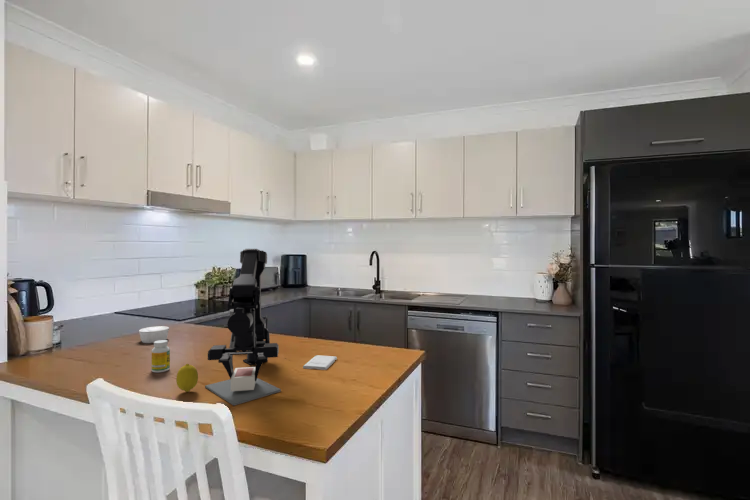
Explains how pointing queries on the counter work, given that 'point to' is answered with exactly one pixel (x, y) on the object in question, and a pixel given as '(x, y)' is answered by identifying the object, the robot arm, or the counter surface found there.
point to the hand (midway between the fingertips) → (244, 381)
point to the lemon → (187, 377)
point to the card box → (243, 379)
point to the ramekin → (153, 334)
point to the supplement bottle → (160, 356)
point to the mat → (242, 396)
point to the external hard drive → (320, 362)
